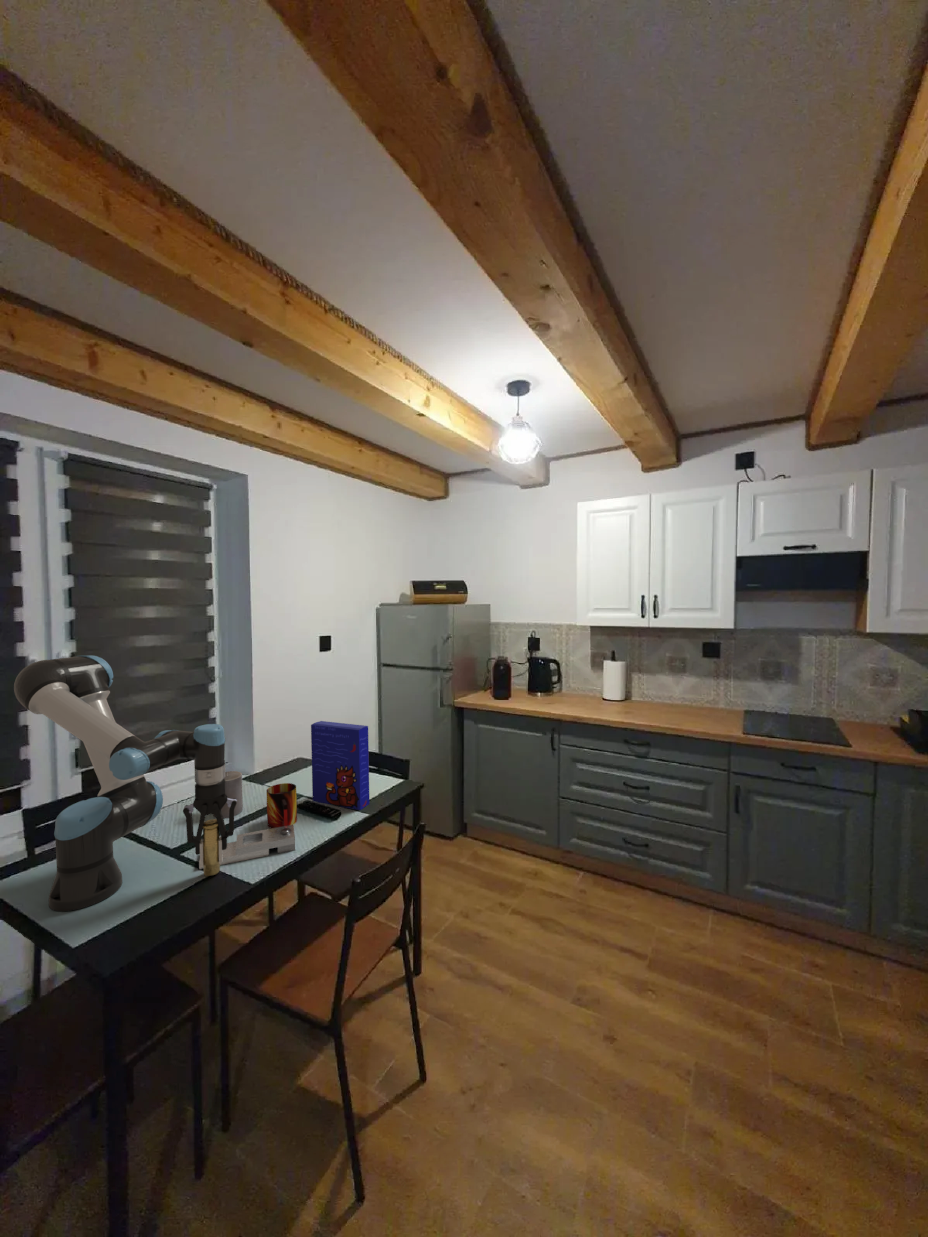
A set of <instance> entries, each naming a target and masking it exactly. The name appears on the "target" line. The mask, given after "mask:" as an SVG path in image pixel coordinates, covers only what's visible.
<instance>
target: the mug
mask: <svg viewBox="0 0 928 1237" xmlns="http://www.w3.org/2000/svg"><path fill="white" fill-rule="evenodd" d="M297 802H298V800H297V785H296V784H294V783H293V782H292V783H291V782H284V783H283V782H282V783H278V784H277V783H276V784H273V785H272V786H269V787H268V788H267V789H266V819H267V821H266V825H267V828H268V829H272V828H277V827H283V826H288V825H293V826H294V825H295V824H296V823H297V822H298V818H297V817H298V809H297V808H298V806H297V805H298V804H297Z"/></svg>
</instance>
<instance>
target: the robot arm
mask: <svg viewBox="0 0 928 1237" xmlns="http://www.w3.org/2000/svg"><path fill="white" fill-rule="evenodd" d="M113 679H114V672H113V669H112V667H111V665H110V664H109V663H108V661H106V660H105V659H103V658H102V657H101V656H100V657H99V656H97V655H94V654H93V655H91V654H90V655H82V654H81V655H76V656H68V657H63V658H62V657H59V658H53V659H52V658H51V659H42V660H39V661H38V660H37V661H35V662H33V663H30V664H28V665H27V666H25V667H23V669H21V671H19V673H18V675H16V678H15V681H14V684H13V690H14V691H13V692H14V695H15V698H16V699H17V701H18V702H19V703H20V705H22V706H23V707H24V708H25V709H27V711H29V712H31V713H32V714H35V715H43V716H45V717H47V718H48V719H49V720H51V721H52V722H53V723H55V724H57V725H58V726H60V727H61V728H63V729H64V730H65V731H66V732H68V733H70V734H72V735H73V736H74V737H75V738H77V739H79V740H80V741H82V742H83V745H84V747H85V749H86V752H87V754H88V757H89V759H90V762H91V764H92V767H93V771H94V772H95V774H96V777H97V780H98V782H99V784H100V790H99V792H98V794H97V797H91V798H88V799H86V800H84V799H83V800H80V801H78V802H76V803H73V804H71V805H69V806H67V807H66V808H64V809H63V810H62V811H61V812H59V814H58V815H57V817H56V818H55V821H54V822H55V823H54V826H55V828H54V833H53V835H54V836H53V837H54V838H55V839H54V840H55V855H56V856H55V857H56V858H55V859H56V875H55V876H54V880H53V883H52V886H51V888H50V891H49V894H48V906H49V908H50V909H51V910H53V911H56V912H70V911H76V910H80V909H85V908H87V907H90V906H93V905H95V904H98V903H100V902H102V901H104V900H106V899H108V898H110V897H111V896H112V895H113V894H115V893H116V892H117V891H119V889H121V886H122V884H123V873H122V871H121V869H120V867H119V864H118V863H117V861H116V858H115V857H114V842H115V841H117V840H119V839H121V838H123V837H124V836H126V835H128V834H131V832H132V833H133V832H134V831H136V830H137V829H139V828H142V827H144V826H146V825H147V824H148V823H150V822H151V821H153V820H155V818H157V816H159V814H160V812H161V809H162V808H163V803H164V798H163V797H164V795H163V792H162V790H161V787H160V786H159V785H158V784H156V783H155V782H154V781H150V780H148V781H147V780H146V776H145V775H144V774H145V773H148V772H150V771H154V770H155V769H157V768H160V767H163V766H165V765H168V764H170V763H172V762H175V761H177V760H193V761H194V762H193V763H194V764H193V765H194V782H195V784H194V801H193V802H192V803H191V804H185V805H184V807H183V810H182V813H183V814H184V816H185V823H186V824H185V825H186V826H185V827H186V837H187V838H186V839H187V840H186V842H187V843H188V844H194V849H195V855H196V856H198V855H199V861H200V867H203V865H204V857H203V838H202V836H203V825H204V822H205V821H206V817H207V816H209V815H213V814H215V816H216V818H215V819H217V823H218V826H219V864H220V863H222V860H223V850H226V848H227V843H228V838H229V837H232V836H233V835H234V831H235V816H234V809H235V806H236V803H237V799H236V798H234V799H230V798H228V797H227V795H226V791H225V779H224V778H225V772H226V760H225V754H226V753H225V752H226V750H225V748H226V738H225V736H226V735H225V729H224V727H223V725H222V724H217V723H207V724H203V725H202V724H201V725H199V726H197V727H195V728H194V730H193V731H187V730H177V729H172V730H170V729H169V730H168V729H167V730H162V731H160V732H159V733H158V734H157V735H156V736H155V737H154V738H153V739H150V740H147V741H144V740H142V739H140V738H139V737H137V735H134V734H133V733H131V731H129V730H127V729H125V727H123V726H121V725H120V724H119V723H117V722H116V720H115V718H114V715H113V712H112V710H111V708H110V706H109V703H108V700H107V699H108V697H109V695H110V694H111V691H110V689H109V688H110V687H111V686H112V684H113V682H114V680H113ZM226 803H227V804H228V807H230V810H229V818H228V830H227V829H226V824H225V821H224V820H225V819H224V818H223V816H222V811H221V809H222V808H223V806H224V805H225V804H226ZM194 809H195V810H196V811H197V812H198V813H199V814H200V815H199V816H200V817H199V821H198V825H197V830H196V835H194V834H195V833H194V824H193V823H194V821H193V820H194V819H193V812H194Z"/></svg>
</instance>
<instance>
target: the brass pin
mask: <svg viewBox="0 0 928 1237" xmlns="http://www.w3.org/2000/svg"><path fill="white" fill-rule="evenodd" d="M219 837H220V830H219V826H218V823H217V819H216V818H213V819H208V820H205V821H204V825H203V831H202V839H203V857H204V869H203V876H205V877H210V876H214V875H217V874H218V873H219V872H220V871H221V865H220V864H219Z"/></svg>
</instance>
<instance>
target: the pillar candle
mask: <svg viewBox="0 0 928 1237" xmlns="http://www.w3.org/2000/svg"><path fill="white" fill-rule="evenodd" d="M224 779H225V791H226V795H227V797H228V798H230V799H234V798H236V799H237V803H236V806H235V809H234V817H236V816H237V815H239V814H240V813H242V812H243V808H244V806H243V805H244V803H243V802H244V801H243V773H242V772H240V771H236V770H228V771H225V778H224ZM229 810H230V807H228V804H227V803H226V804H225V805H224V806H223V808H222V809H221V811H222V816H223V819H229ZM212 816H213V817H214V819H216V816H215V814H212Z"/></svg>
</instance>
